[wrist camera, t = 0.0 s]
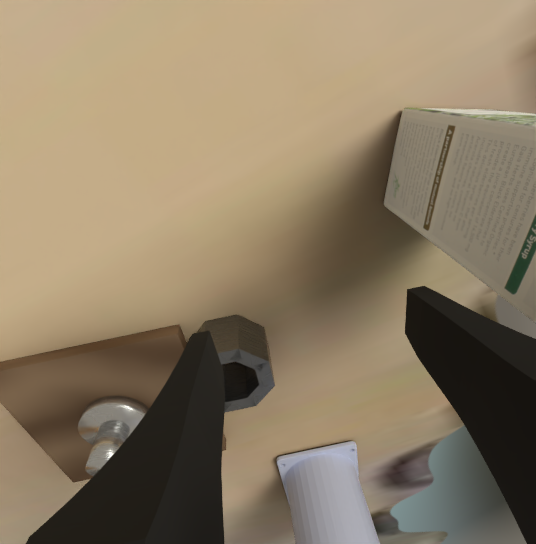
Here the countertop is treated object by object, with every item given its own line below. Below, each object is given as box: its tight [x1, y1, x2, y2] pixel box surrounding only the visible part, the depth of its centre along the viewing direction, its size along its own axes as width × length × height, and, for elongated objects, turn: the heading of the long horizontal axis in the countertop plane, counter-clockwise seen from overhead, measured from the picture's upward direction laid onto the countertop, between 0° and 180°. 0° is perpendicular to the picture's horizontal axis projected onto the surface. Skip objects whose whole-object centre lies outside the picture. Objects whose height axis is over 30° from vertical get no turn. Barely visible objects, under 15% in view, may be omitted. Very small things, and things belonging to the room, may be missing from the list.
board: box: [0, 325, 226, 482], centre depth 27 cm, size 14×14×1 cm
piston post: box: [78, 396, 149, 476], centre depth 25 cm, size 5×5×4 cm
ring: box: [197, 315, 275, 413], centre depth 24 cm, size 6×6×4 cm
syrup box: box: [384, 108, 536, 323], centre depth 14 cm, size 6×6×14 cm
